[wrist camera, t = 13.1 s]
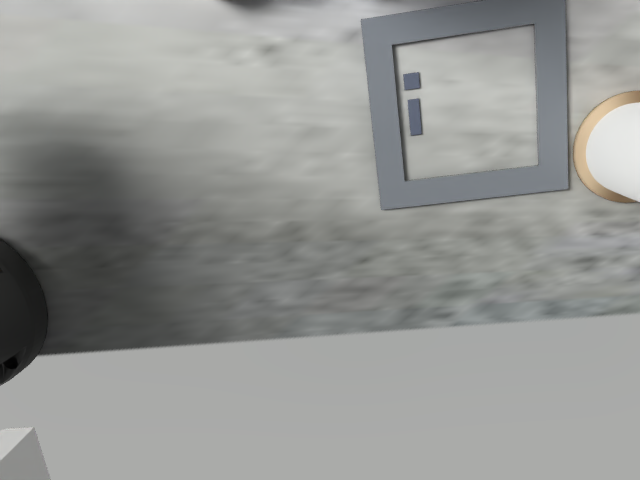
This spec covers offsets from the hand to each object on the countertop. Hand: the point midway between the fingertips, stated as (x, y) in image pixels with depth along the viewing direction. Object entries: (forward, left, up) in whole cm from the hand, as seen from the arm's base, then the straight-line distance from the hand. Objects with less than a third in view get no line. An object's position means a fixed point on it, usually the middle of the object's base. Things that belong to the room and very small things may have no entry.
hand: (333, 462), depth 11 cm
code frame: (+9, +6, -32) cm, 33 cm away
